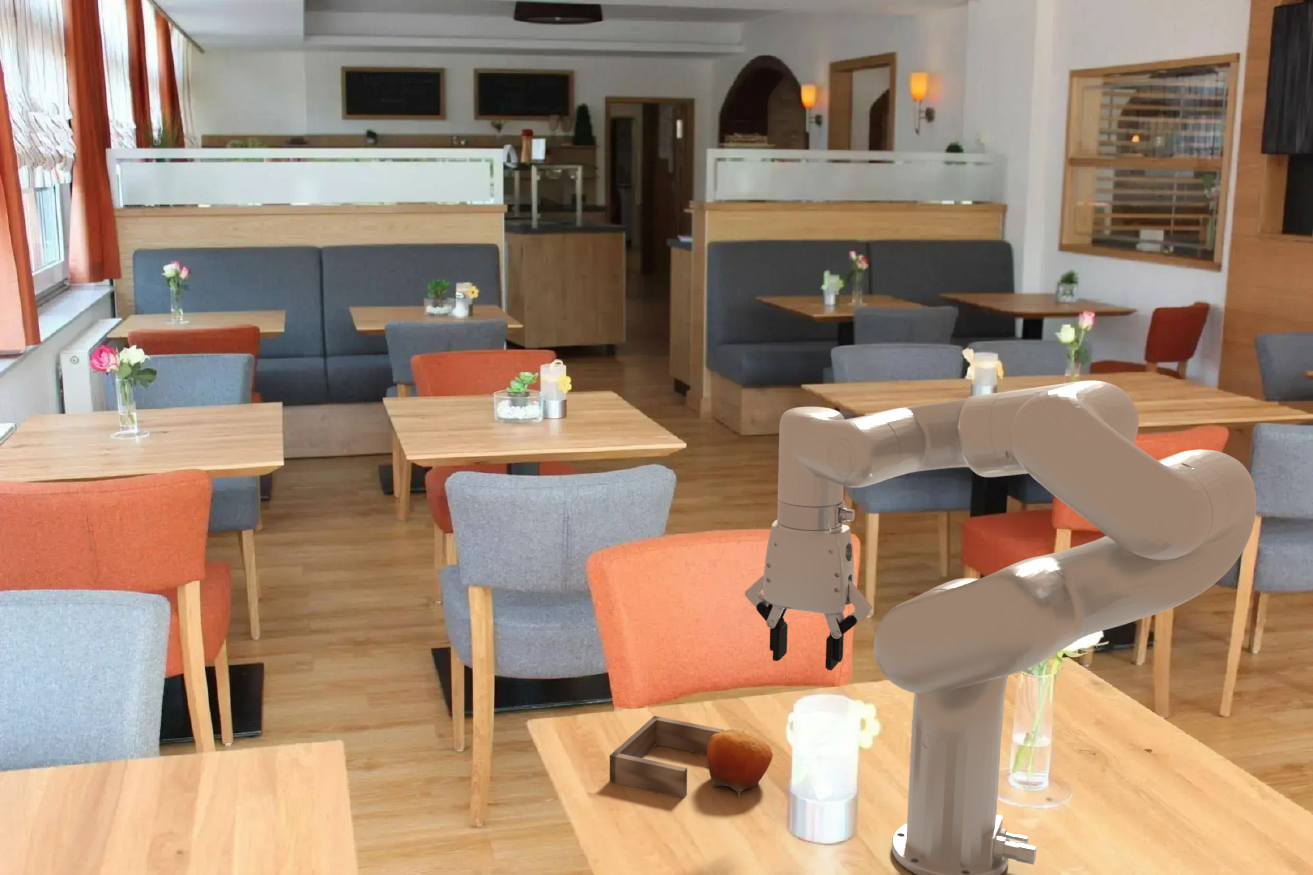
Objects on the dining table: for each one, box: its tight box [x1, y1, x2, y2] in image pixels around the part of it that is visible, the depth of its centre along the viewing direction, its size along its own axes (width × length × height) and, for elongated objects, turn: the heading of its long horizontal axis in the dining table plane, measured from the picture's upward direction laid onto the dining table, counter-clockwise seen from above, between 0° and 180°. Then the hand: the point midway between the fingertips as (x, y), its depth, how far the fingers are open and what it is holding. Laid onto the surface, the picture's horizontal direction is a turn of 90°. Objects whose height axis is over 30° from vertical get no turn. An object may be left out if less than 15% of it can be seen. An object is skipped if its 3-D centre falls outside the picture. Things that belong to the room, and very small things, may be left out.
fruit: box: [706, 729, 774, 799], centre depth 158 cm, size 8×8×8 cm
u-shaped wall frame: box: [609, 715, 725, 799], centre depth 163 cm, size 10×13×4 cm
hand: (805, 660), depth 152 cm, fingers open, 5 cm apart
